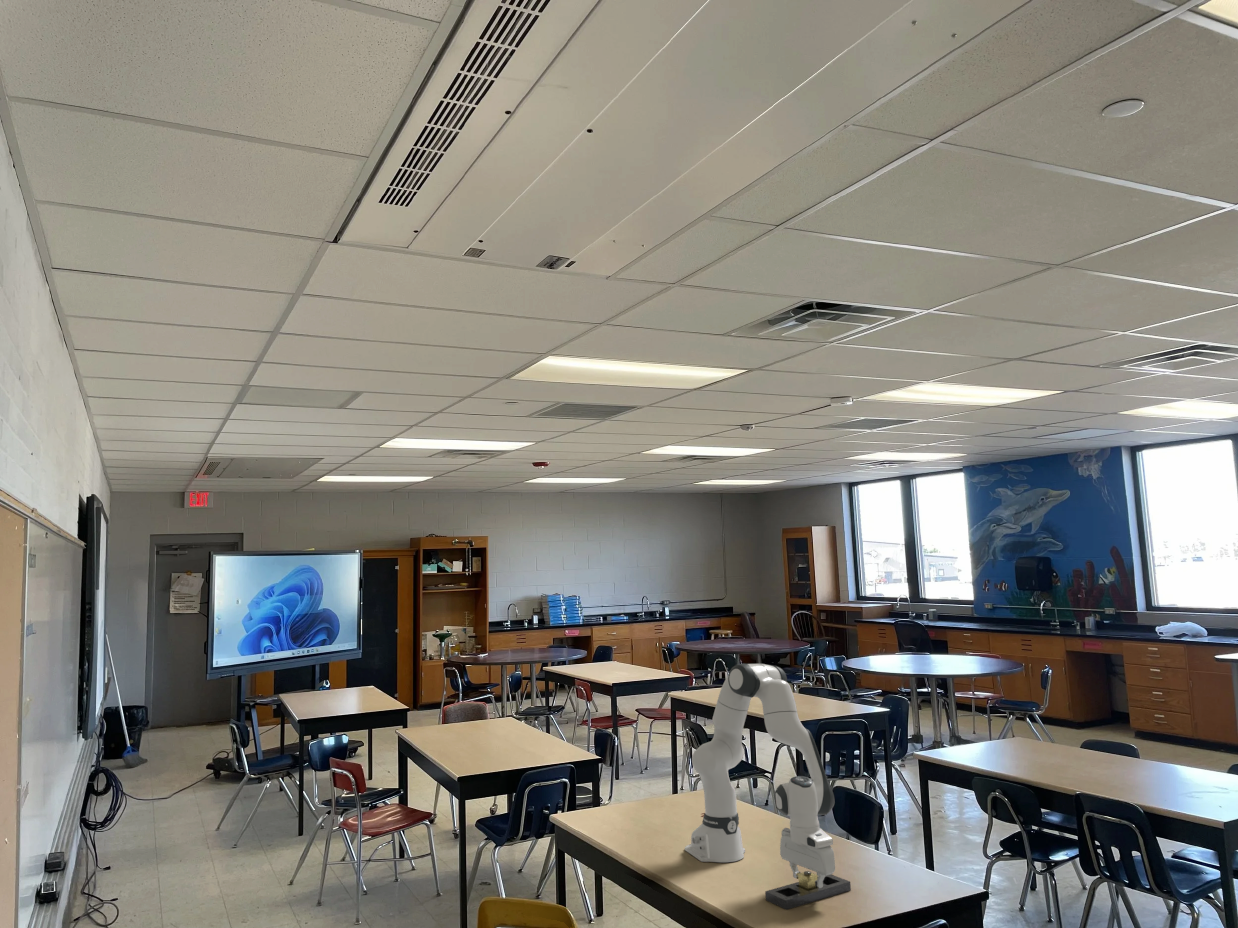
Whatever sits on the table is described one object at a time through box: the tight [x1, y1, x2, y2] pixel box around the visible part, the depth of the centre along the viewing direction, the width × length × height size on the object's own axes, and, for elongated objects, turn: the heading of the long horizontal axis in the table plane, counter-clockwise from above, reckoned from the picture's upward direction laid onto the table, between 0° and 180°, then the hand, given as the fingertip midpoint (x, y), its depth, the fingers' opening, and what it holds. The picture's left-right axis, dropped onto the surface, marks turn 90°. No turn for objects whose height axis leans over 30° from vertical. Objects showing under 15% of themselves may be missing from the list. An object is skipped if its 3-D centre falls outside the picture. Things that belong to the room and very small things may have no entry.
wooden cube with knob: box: [798, 870, 818, 891], centre depth 248 cm, size 4×4×6 cm
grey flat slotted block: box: [764, 874, 852, 911], centre depth 248 cm, size 9×26×2 cm, turn 121°
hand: (807, 882), depth 248 cm, fingers open, 8 cm apart
